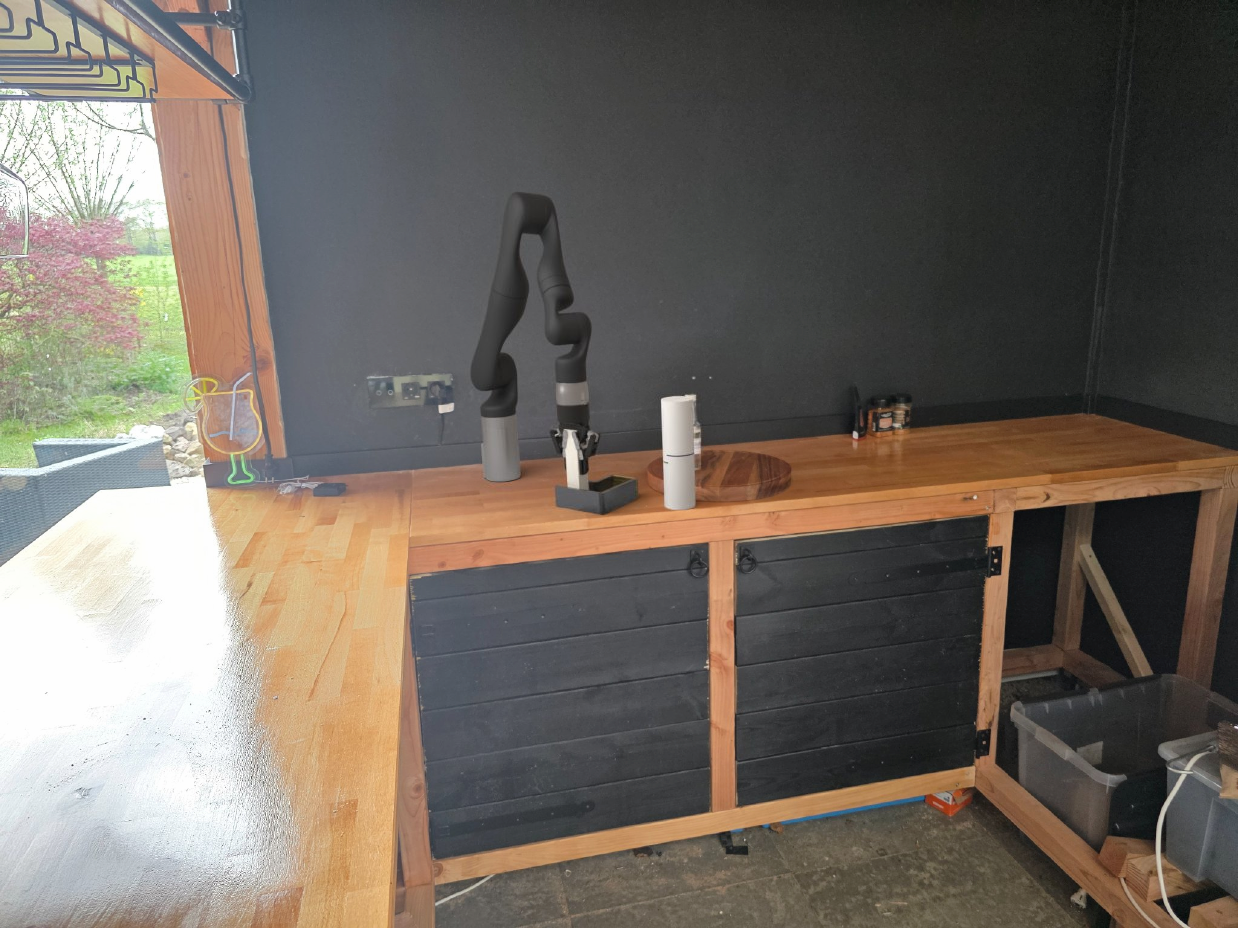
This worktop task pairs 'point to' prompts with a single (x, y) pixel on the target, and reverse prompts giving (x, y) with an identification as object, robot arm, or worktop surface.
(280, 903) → the worktop surface
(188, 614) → the worktop surface
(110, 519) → the worktop surface
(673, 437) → the cylindrical container
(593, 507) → the dark open tray
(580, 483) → the peg
